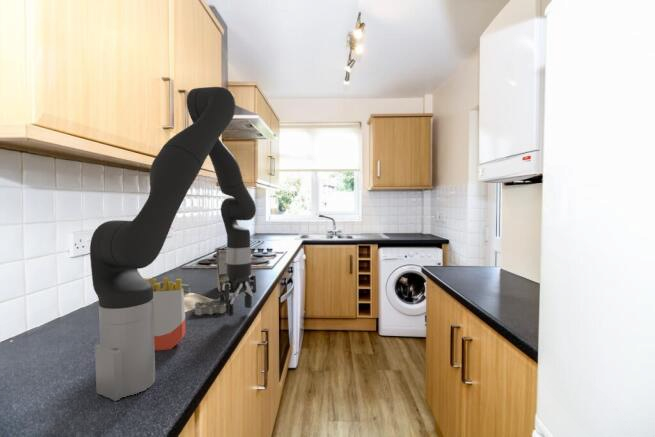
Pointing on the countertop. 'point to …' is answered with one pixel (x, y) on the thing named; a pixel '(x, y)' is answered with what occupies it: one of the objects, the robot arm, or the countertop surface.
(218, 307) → the grey irregular chunky piece
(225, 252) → the coffee box
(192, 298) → the beige and grey tray
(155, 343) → the french fries container
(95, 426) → the countertop surface
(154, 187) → the robot arm
